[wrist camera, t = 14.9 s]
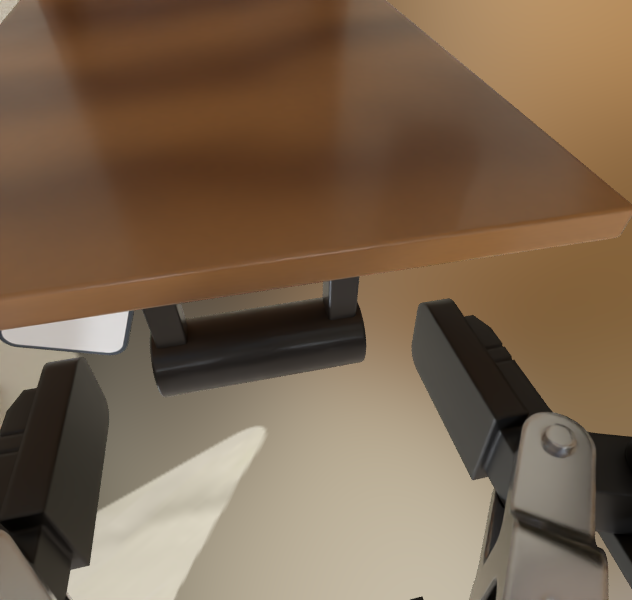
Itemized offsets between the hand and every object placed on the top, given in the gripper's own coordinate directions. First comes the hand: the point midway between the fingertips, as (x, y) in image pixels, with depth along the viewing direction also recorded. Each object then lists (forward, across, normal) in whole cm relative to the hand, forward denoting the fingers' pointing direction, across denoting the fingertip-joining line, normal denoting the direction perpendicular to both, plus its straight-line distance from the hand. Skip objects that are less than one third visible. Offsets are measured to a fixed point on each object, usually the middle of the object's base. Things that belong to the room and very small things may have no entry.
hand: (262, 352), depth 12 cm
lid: (+7, 0, -5) cm, 9 cm away
